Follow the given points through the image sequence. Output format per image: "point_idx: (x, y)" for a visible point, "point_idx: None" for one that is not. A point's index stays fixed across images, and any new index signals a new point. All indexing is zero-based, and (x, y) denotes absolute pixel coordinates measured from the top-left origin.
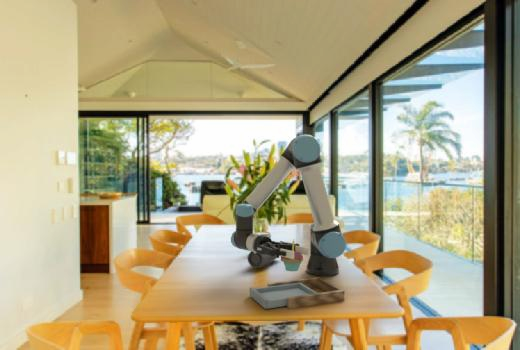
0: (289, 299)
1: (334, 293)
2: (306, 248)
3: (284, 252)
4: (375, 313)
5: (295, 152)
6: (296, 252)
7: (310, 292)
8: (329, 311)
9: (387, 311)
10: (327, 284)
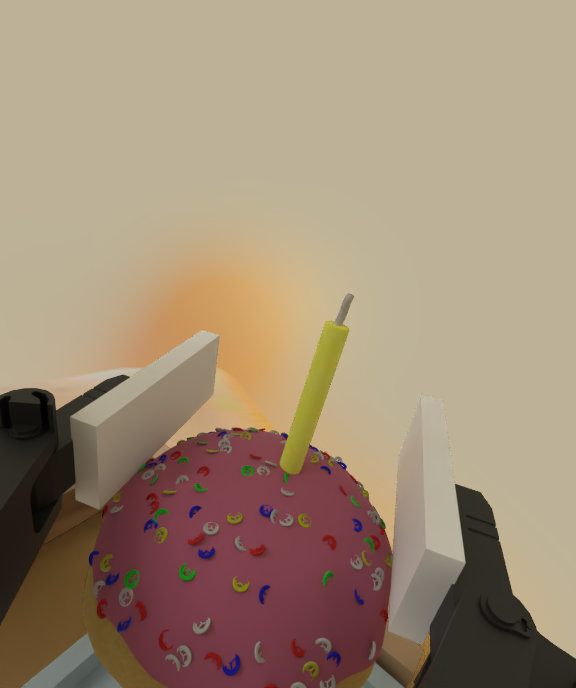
0: (419, 648)
1: None
2: (209, 346)
3: (475, 494)
4: (249, 398)
5: None
6: (258, 440)
7: None
8: None
9: (220, 379)
10: None
